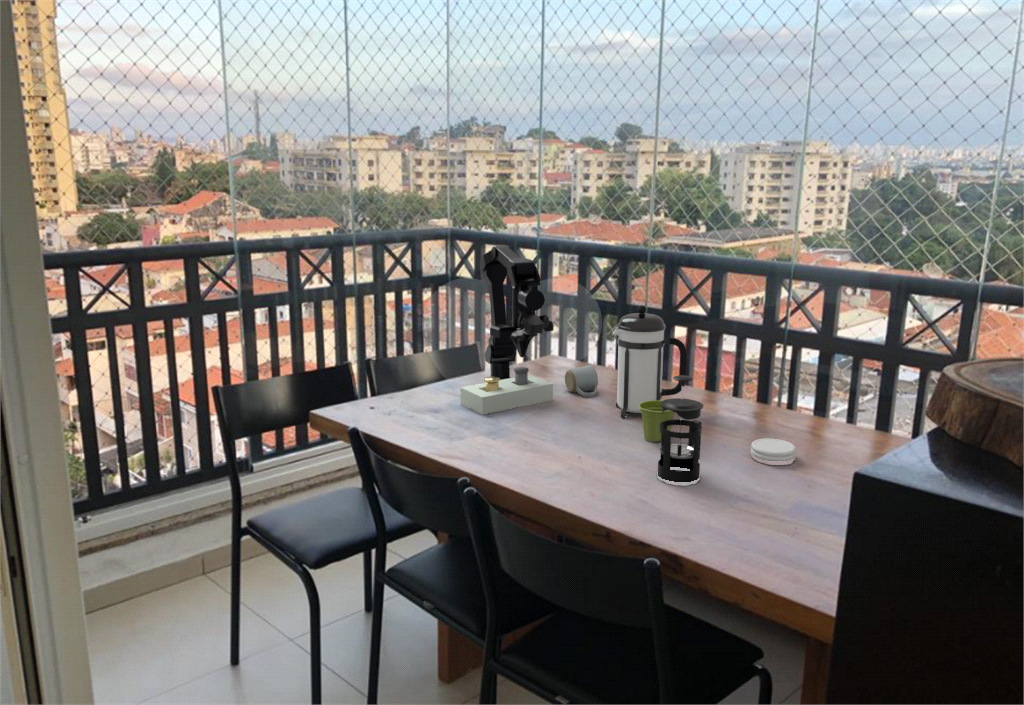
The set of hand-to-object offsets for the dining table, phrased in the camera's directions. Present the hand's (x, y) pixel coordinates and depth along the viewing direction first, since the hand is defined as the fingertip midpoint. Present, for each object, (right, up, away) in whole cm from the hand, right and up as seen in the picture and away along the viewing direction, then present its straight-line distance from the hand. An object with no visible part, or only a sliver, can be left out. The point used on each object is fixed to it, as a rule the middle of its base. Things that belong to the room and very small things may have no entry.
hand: (522, 357), depth 230 cm
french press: (+34, -26, -56) cm, 71 cm away
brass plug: (-9, -13, -4) cm, 16 cm away
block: (-4, -13, -1) cm, 14 cm away
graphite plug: (0, -11, +1) cm, 11 cm away
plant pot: (+33, -20, -32) cm, 51 cm away
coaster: (+58, -24, -45) cm, 77 cm away
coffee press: (+33, -15, -11) cm, 38 cm away
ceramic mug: (+19, -11, +8) cm, 23 cm away
